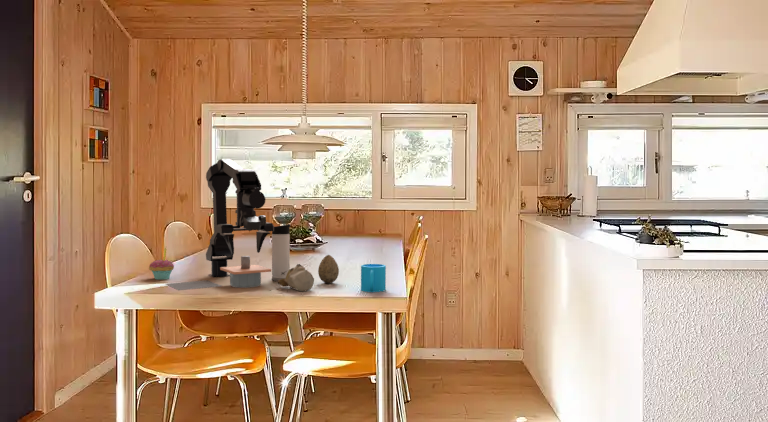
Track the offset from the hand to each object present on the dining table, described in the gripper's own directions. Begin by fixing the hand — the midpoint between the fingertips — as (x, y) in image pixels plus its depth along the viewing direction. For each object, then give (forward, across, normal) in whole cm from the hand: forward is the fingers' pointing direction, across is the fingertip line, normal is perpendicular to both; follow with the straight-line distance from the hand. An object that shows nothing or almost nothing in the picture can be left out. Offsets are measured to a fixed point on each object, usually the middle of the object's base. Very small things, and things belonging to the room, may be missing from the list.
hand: (245, 253), depth 239 cm
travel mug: (+11, +16, +6) cm, 21 cm away
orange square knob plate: (+6, 0, 0) cm, 6 cm away
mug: (+12, +32, -30) cm, 45 cm away
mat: (+11, -15, +9) cm, 21 cm away
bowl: (+11, 0, 0) cm, 11 cm away
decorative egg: (+11, +27, -9) cm, 31 cm away
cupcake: (+11, -20, +29) cm, 37 cm away
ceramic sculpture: (+12, +13, -14) cm, 22 cm away
